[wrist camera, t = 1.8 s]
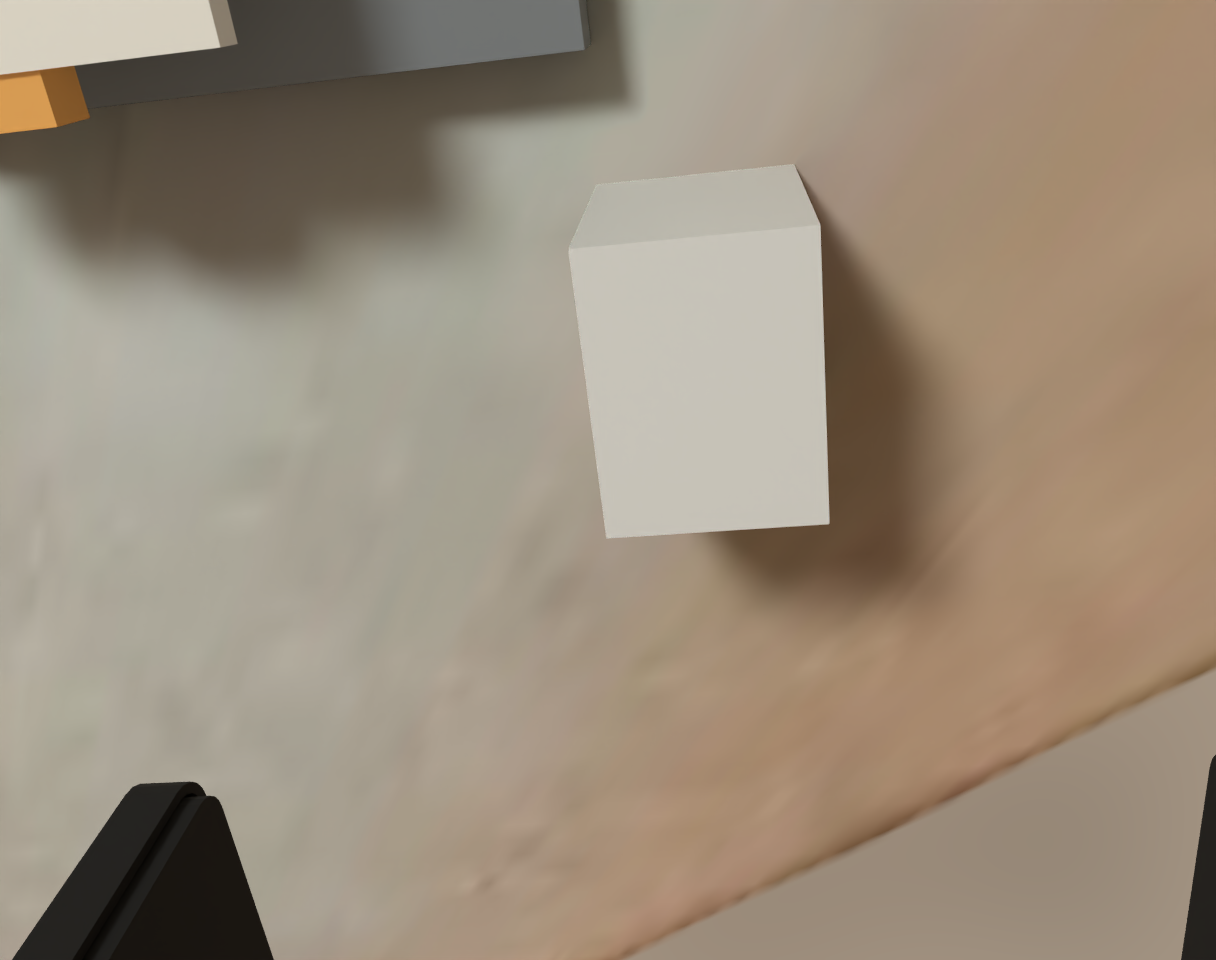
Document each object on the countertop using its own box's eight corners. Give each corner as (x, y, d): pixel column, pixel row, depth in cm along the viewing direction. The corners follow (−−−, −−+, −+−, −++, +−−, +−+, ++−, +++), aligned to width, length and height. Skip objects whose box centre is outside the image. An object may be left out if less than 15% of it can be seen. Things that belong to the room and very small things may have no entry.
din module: (794, 163, 24) (820, 224, 19) (804, 414, 27) (829, 530, 22) (596, 184, 25) (568, 248, 20) (625, 428, 28) (607, 544, 22)
